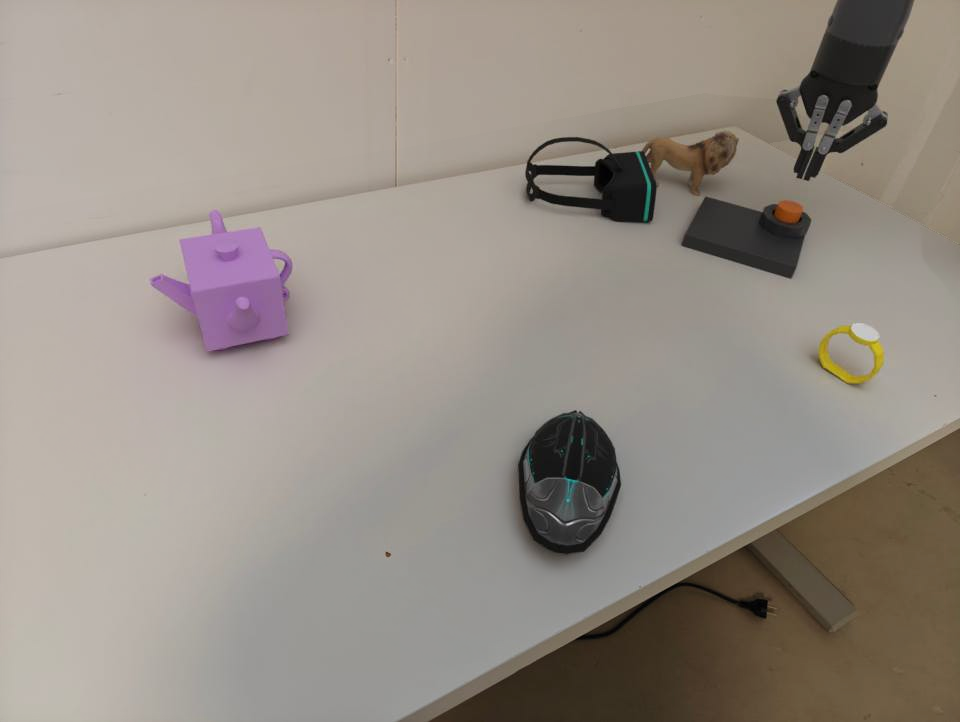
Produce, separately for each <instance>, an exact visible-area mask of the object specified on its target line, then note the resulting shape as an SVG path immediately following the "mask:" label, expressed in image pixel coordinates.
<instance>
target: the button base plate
mask: <svg viewBox="0 0 960 722" xmlns="http://www.w3.org/2000/svg"><path fill="white" fill-rule="evenodd" d="M777 205H778V203H771V204H769V205H766V206H764V207H763V210H762V211H760V210H756V209H753V208H750V207H746V206H742V205H739V204H735V203H731V202H727V201H724V200H721V199H717V198H714V197H709V196H704V198H703V200H702V201H701V204H700V205H699V207H698V209H697V210H696V212H695V215H694V217H693V218H692V221H691V222H690V224H689V226H688V227H687V229H686V231H685V233H684V236H683V239H682V242H681V247H682V248H686V249H690V250H693V251H695V252H701V253H702V254H707V255H709V256H714V257H716V258H720V259H723V260H726V261H730V262H734V263H736V264H739V265H744V266H747V267H750V268H753V269H757V270H760V271H762V272H766V273H770V274H773V275H776V276H780V277H782V278H783V277H784V278H787V279H790V280H792V279H793V276H794V274H795V271H796V270H797V267H798V263H799V261H800V256H801V252H802V248H803V245H804V241H805V237H806V235H807V233H808V231H809V229H810V226H811V223H812V218H811V217H810V216H809V215H808V213H807V212H805V211H803V212H802V214H801V217H800V219H799V221H798V222H797V223H788V222H784V221H781V220H779V219H777V218H775V217H774V213H775V210H776V208H777Z"/></svg>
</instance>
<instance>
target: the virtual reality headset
mask: <svg viewBox="0 0 960 722" xmlns="http://www.w3.org/2000/svg"><path fill="white" fill-rule="evenodd" d="M568 142H578V143H585V144H590V145H594V146H597V147H598V148H601V149H603V150H604V151H605V152H606V153H608V154H607V155H606V156H605V157H604V158H598V159H597V160H596V161H595V163H594V165H563V164H561V165H557V164H554V165H552V164H536V163H534V164H533V163H532V162H531V161H532V160H533V159H534V157H535V156H536V155H537V154H538V153H540V152H541V151H542V150H544V149H545V148H546V147H548V146H551V145H554V144H558V143H568ZM650 168H651V165H650V163H648V161H647V158H646V153H644V151H642V150H638V151H626V152H616V153H615V152H613V153H612V151H611V150H610V149H609V148H608V147H606V146H605V145H604V144H602V143H601V142H598V141H597V140H593V139H590V138H585V137H580V136H567V137H566V136H565V137H563V136H562V137H557V138H553V139H549V140H546V141H545V142H543V143H542V144H540V145H539V146H538V147H536V149H534V151H532V153H531V154H530V156H529V157H528V159H527V161H526V166H525V170H524V175H525V179H526V182H527V183H526V187H525V193H526V195H527V198H528V200H529V202H534V201H536V200H541V201H544V202H546V203H549V204H551V205H558V206H561V207H562V206H563V207H571V208H582V209H591V210H592V209H594V210H600V214H601V216H603V217H604V218H605V217H609V218H612V220H614V221H615V222H652V221H653V220H654V214H655V206H656V198H657V190H658V189H657V188H658V187H657V185H656V181H657V180H656V179H655V175H654V176H653V174H652V171H651V169H650ZM538 176H570V177H593V186H594V188H595V189H596V190H597V191H599V192H600V193H602V194H601V198H593V197H583V196H582V197H581V196H573V195H572V196H570V195H561V194H555V193H551V192H548V191H546V190H542V189H541V187H540V186H538V185H536V183H535V181H534V180H535V179H536V178H537V177H538ZM531 191H532V192H531Z"/></svg>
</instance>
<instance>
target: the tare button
mask: <svg viewBox="0 0 960 722" xmlns="http://www.w3.org/2000/svg"><path fill="white" fill-rule="evenodd" d="M777 204H778V205H777V208H776V210H775V213H774V217H775V218H777V219H779V220H781V221H784V222H788V223H797V222H798V221H799V219H800V217H801V214H802V212H804V206H802V205H801V204H800V203H798V202H796V201H793V200H788V199H787V200H785V199H784V200H780V201H779V202H778V203H777Z"/></svg>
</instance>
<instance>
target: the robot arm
mask: <svg viewBox="0 0 960 722" xmlns="http://www.w3.org/2000/svg"><path fill="white" fill-rule="evenodd" d="M914 3H915V0H836V3H835V5H834V7H833V9H832V12H831V14H830V16H829V18H828V21H827V25H826V28H825V32H824V33H823V35H822V39H821V41H820V44H819V47H818V49H817V52H816V54H815V57H814V59H813V62H812V66H811V68H810V70H809V72H808V74H807V75H806V76H805V77H804V78H803V79H801V82H800V84H799V85H798V86H796V87H793V88H790V89H789V90H788V89H782V90H781V91H780V92H779V94H778V96H777V98H776V102H775V103H776V106H777V109H778V110H779V114H780V116H781V119H782V123H783V125H784V128H785V131H786V133H787V136H788V139H789V141H790V142H792V143H796V144H798V145H799V147H800V151H799V153H798V156H797V158H796V160H795V163H794V165H793V173H794V174H796V177H795V178H796V179H798V180H803V181H806V182H810V180H811V178H813V179H815V178H817V177H818V176H819V174H820V171H821V169H822V166H823V164H824V161H825V159H826V157H827V155H829V154H831V153H838V154H843V153H845V152H847V151H848V150H850V149H852V148H853V147H855V146H857V145H858V144H859V143H861V142H863V141H865V140H866V139H868V138H869V137H871V136H873V135H874V134H876V133H878V132H879V131H881V130H882V129H884V128H885V127H886V126H887V125H888V118H889V114H888V112H887V111H886V110H885V111H884V110H882V109H881V108H880V106H879V105H878V104H877V103H878V98H879V93H878V90H879V86H880V84H881V82H882V79H883V77H884V75H885V73H886V70H887V68H888V66H889V64H890V61H891V59H892V57H893V54H894V52H895V51H896V48H897V45H898V43H899V41H900V40H901V38H902V37H903V35H904V32H905V28H906V25H907V24H908V21H909V19H910V16H911V13H912V11H913V7H914V5H915V4H914ZM800 97H801V100H802V104H803V107H804V110H805V113H806V116H807V117H808V118H809V119H810V121H809V124H808V127H807V130H805V129H803V127H802V126H803V125H802V124H801V121H800V118H799V116H798V113H797V110H796V109H797V106H798V105H799V102H800V101H799V100H800V99H799V98H800ZM865 113H866V114H865ZM863 114H865V115H864V116H863V119H862V123H860V124H858V125H857V126H855V127H854V128H852V129H851V130H849V131H848V132H846V133H844V134H843V135H841V136H839V137H837V135H838V134H839V132H840V130H841V128H842V127H843V126H847V125H848V124H851V122H853V121H854V120H856V119H857V118H859V117H861V116H862V115H863ZM822 123H823V124H824V123H825V124H827V126H826V129H825V131H824V132H823V135H822V137H821V139H820V142H819V144H818V146H815V144H816V139H817V136H818V133H819V130H820V127H821V124H822Z"/></svg>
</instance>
